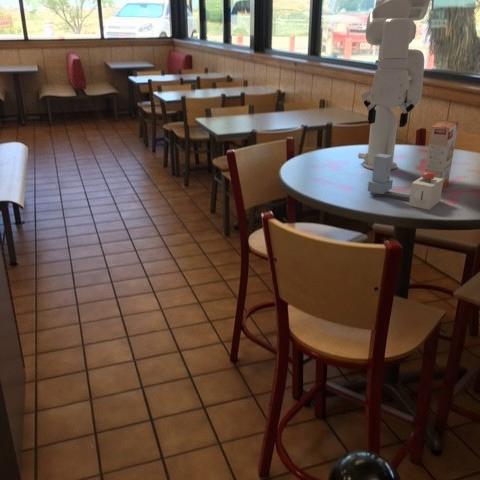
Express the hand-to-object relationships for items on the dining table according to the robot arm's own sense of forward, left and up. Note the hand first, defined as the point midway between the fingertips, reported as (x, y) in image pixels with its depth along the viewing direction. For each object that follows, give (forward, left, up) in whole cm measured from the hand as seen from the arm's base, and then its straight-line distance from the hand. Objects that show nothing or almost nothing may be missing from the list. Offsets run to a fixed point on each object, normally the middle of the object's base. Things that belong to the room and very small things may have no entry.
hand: (386, 124), depth 154 cm
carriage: (0, 0, -20) cm, 20 cm away
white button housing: (+14, 0, -22) cm, 26 cm away
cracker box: (+11, +19, -22) cm, 31 cm away
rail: (+4, 0, -22) cm, 22 cm away
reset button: (+14, 0, -16) cm, 21 cm away
